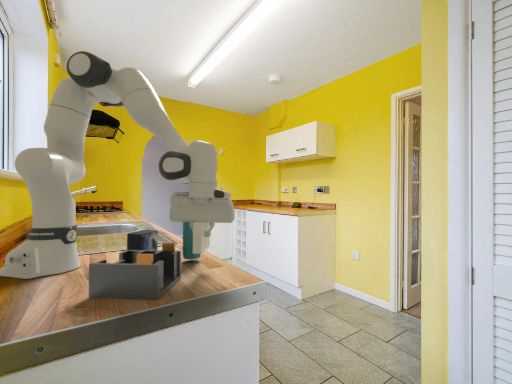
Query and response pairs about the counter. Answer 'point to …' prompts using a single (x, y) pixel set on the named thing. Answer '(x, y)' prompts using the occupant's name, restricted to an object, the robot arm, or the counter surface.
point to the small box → (142, 240)
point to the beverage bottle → (188, 242)
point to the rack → (136, 274)
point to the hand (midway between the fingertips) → (201, 236)
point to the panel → (200, 237)
